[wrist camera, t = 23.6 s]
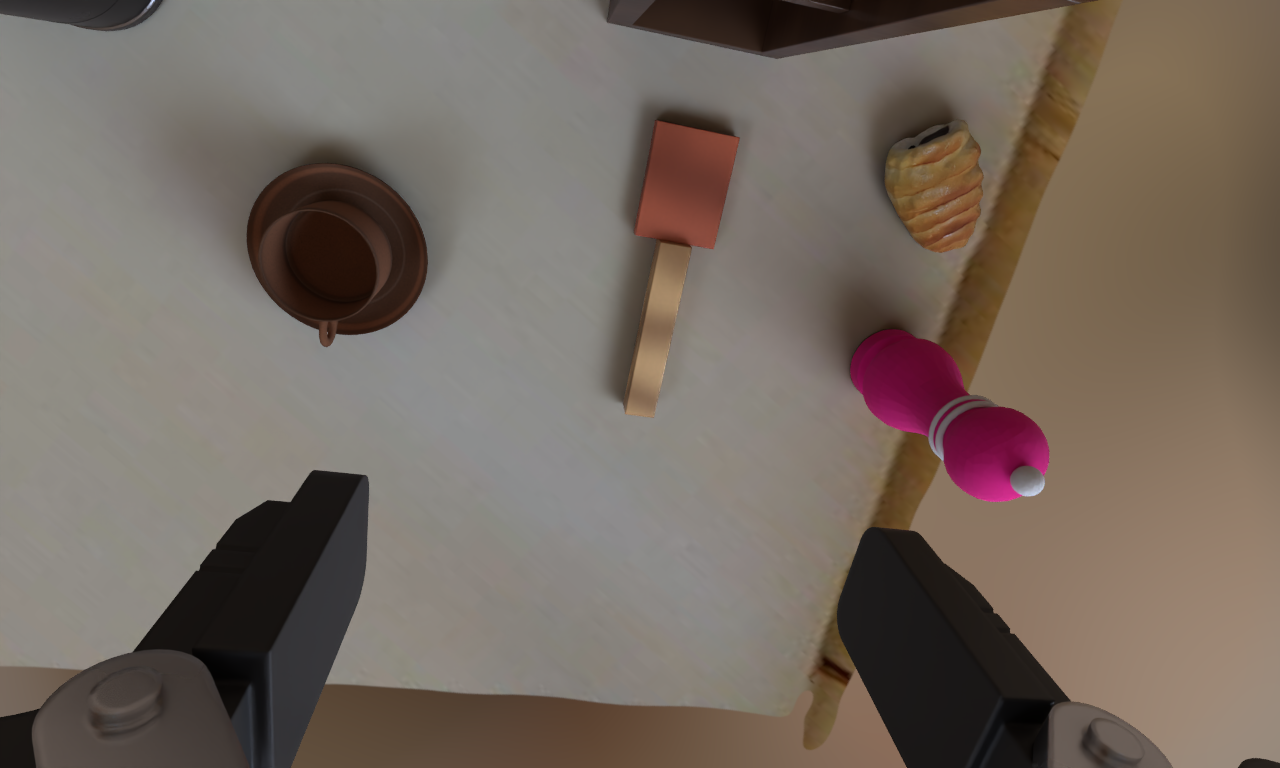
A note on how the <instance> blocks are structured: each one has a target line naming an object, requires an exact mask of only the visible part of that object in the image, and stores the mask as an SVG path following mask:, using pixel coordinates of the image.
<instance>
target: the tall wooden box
mask: <svg viewBox="0 0 1280 768" xmlns="http://www.w3.org/2000/svg"><path fill="white" fill-rule="evenodd" d="M1091 1H1096V0H610V5H609V12H608V19H607V22H608V23H612V24H617V25H621V26H626V27H631V28H635V29H640V30H645V31H649V32H654V33H659V34H663V35H668V36H673V37H677V38H682V39H687V40H691V41H696V42H701V43H705V44H710V45H715V46H719V47H724V48H729V49H733V50H738V51H743V52H747V53H752V54H757V55H761V56H766V57H771V58H775V59H778V58H784V57H789V56H794V55H800V54H805V53H811V52H816V51H822V50H828V49H833V48H839V47H844V46H850V45H855V44H861V43H866V42H872V41H877V40H883V39H888V38H894V37H899V36H905V35H910V34H916V33H921V32H927V31H932V30H938V29H943V28H949V27H954V26H960V25H965V24H971V23H976V22H982V21H987V20H993V19H998V18H1004V17H1009V16H1015V15H1020V14H1026V13H1031V12H1037V11H1042V10H1048V9H1053V8H1059V7H1064V6H1070V5H1076V4H1080V3H1085V2H1091Z"/></svg>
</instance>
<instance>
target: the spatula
mask: <svg viewBox="0 0 1280 768" xmlns="http://www.w3.org/2000/svg"><path fill="white" fill-rule="evenodd" d="M739 139H740V138H739V137H735V136H730V135H725V134H721V133H716V132H711V131H707V130H702V129H697V128H692V127H688V126H683V125H678V124H673V123H669V122H664V121H659V120H655V124H654V129H653V134H652V139H651V145H650V150H649V155H648V160H647V166H646V171H645V176H644V181H643V187H642V192H641V197H640V202H639V207H638V213H637V218H636V223H635V228H634V233H635V235H638V236H643V237H649V238H654V239H657V240H656V245H655V250H654V255H653V260H652V265H651V269H650V274H649V279H648V284H647V289H646V294H645V299H644V304H643V309H642V314H641V318H640V323H639V328H638V333H637V338H636V343H635V348H634V353H633V358H632V363H631V367H630V372H629V377H628V382H627V387H626V392H625V397H624V402H623V405H624V411H625V414H629V415H636V416H643V417H651V418H654V415H655V410H656V406H657V402H658V397H659V393H660V388H661V384H662V379H663V375H664V370H665V366H666V361H667V357H668V352H669V348H670V344H671V339H672V335H673V330H674V326H675V321H676V317H677V312H678V308H679V303H680V299H681V294H682V290H683V286H684V281H685V277H686V272H687V268H688V263H689V259H690V254H691V250H692V247H691V246H690V245H693V246H698V247H704V248H710V249H714V245H715V241H716V237H717V232H718V228H719V224H720V220H721V215H722V211H723V207H724V203H725V198H726V194H727V190H728V186H729V182H730V177H731V173H732V169H733V165H734V160H735V156H736V152H737V148H738V143H739Z"/></svg>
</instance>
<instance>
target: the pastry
mask: <svg viewBox="0 0 1280 768" xmlns="http://www.w3.org/2000/svg"><path fill="white" fill-rule="evenodd" d="M980 154H981V149H980V146H979V144H978V143H977V142H976V141H975V140H974V139H973V137H972V136H971V135H970V133H969V130H968V124H967V123H966V121H964V120H959V119H956V120H953V121H952V122H950V123H949V124H944V125H936V126H933V127H931V128H928V129H927V130H926V131H924V132H922V133H920V134H919V135H917V136H916V137H915V138H905V139H903V140H901V141H899V142H897V143H895V144H894V145H893V147H892V148H891V149H890V150H889V153H888V156H887V160H886V169H885V179H884V180H885V186H886V190H887V193H888V196H889V198H890V199H891V201H892V203H893V206H894V207H895V210H896V212H897V214H898V215H899V217H900V219H901V220H902V222H903V223H904V225H905V226H906V228H907V229H908V231H909V232H910V234H911V236H912V237H913V238H914V240H915V241H916V242H917V243H918V244H920V245H921V246H922V247H923V248H925V249H929V250H931V251H933V252H940V253H942V252H946V251H949V250H952V249H958V248H962V247H964V246H965V245H966V244H967V242H968V240H969V238H970V236H971V235H972V234H973V232H974V228H975V224H976V221H977V218H978V217H979V216H980V211H981V209H980V206H979V202H980V200H981V198H982V196H983V190H982V187H981V182H982V180H983V178H984V177H983V173H982V170H981V168H980V167H979V164H978V158H979V157H980Z"/></svg>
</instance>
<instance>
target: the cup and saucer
mask: <svg viewBox="0 0 1280 768" xmlns="http://www.w3.org/2000/svg"><path fill="white" fill-rule="evenodd" d="M247 248H248V254H249V258H250V261H251V265H252V268H253V270H254V272H255V274H256V277H257V278H258V280H259V282H260V284H261V285H262V287H263V288H264V290H265V291H266V292H267V294H268V295H269V296H270V297H271V299H272V300H273V301H274V302H275V303H276V304H277V305H278V306H279V307H281V308H282V309H283V310H284V311H285V312H287V313H288V314H289V315H291V316H292V317H294V318H295V319H297V320H298V321H300V322H302V323H304V324H306V325H308V326H310V327H313V328H315V329H318V330H319V338H320V342H321V344H322V345H323V346H324V347H328V346H330V345H331V344H332V342H333V340H334V338H335V335H336V334H342V335H358V334H366V333H370V332H374V331H377V330H380V329H383V328H385V327H387V326H389V325H391V324H393V323H394V322H396V321H397V320H399V319H400V318H401V317H403V316H404V315H405V314H406V313H407V312H408V311H409V310H410V309H411V307H412V306H413V305H414V303H415V302H416V301H417V299H418V297H419V295H420V293H421V291H422V288H423V286H424V283H425V279H426V274H427V265H428V256H427V247H426V242H425V238H424V235H423V232H422V229H421V227H420V224H419V222H418V220H417V218H416V217H415V215H414V213H413V212H412V210H411V209H410V207H409V206H408V205H407V203H406V202H405V201H404V200H403V199H402V198H401V197H400V196H399V194H398V193H397V192H395V191H394V190H393V189H392V188H391V187H390V186H388V185H387V184H386V183H384V182H383V181H381V180H380V179H378V178H376V177H375V176H373V175H371V174H369V173H367V172H364V171H362V170H359V169H356V168H353V167H350V166H346V165H340V164H332V163H317V164H309V165H304V166H300V167H297V168H294V169H291V170H289V171H287V172H285V173H283V174H282V175H280V176H278V177H277V178H276V179H274V180H273V181H272V182H270V183H269V184H268V185H267V186H266V187H265V188H264V190H263V191H262V192H261V194H260V195H259V196H258V198H257V200H256V201H255V203H254V206H253V208H252V210H251V213H250V216H249V220H248V225H247ZM327 332H328V335H327Z"/></svg>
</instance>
